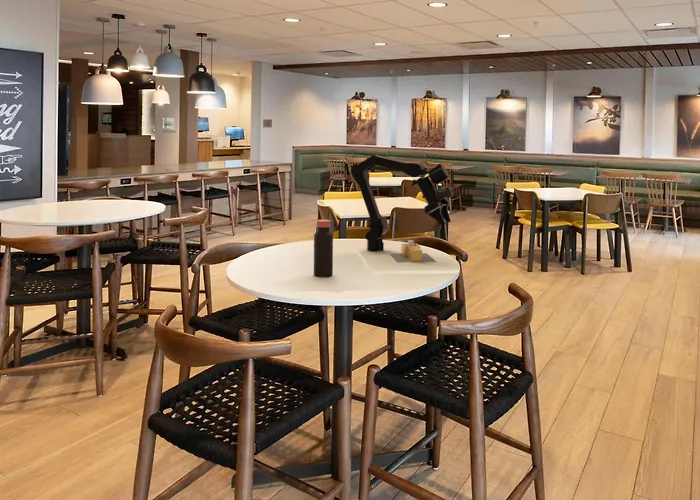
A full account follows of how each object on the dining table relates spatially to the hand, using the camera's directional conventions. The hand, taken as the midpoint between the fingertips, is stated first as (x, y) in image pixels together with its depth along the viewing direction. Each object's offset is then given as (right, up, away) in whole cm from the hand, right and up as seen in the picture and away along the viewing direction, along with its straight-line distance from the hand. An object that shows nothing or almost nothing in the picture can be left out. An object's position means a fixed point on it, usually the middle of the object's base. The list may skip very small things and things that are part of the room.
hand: (447, 223), depth 251 cm
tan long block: (-14, -14, -1) cm, 20 cm away
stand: (-14, -15, -1) cm, 21 cm away
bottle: (-49, -20, -29) cm, 61 cm away
